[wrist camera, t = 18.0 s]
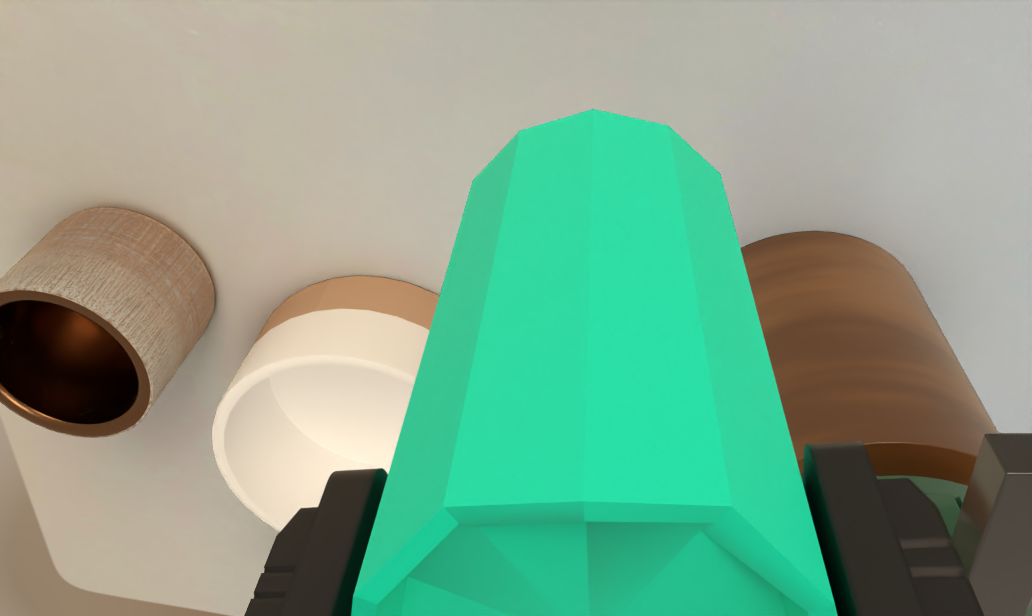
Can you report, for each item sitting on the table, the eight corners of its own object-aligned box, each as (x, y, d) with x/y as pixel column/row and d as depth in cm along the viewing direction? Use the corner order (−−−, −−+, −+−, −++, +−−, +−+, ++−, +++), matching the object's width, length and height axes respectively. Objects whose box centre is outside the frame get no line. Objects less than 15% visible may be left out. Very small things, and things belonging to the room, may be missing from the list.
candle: (781, 278, 19) (981, 890, 9) (554, 383, 21) (511, 963, 11) (649, 51, 16) (724, 560, 6) (406, 199, 18) (180, 743, 8)
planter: (209, 362, 58) (147, 461, 50) (52, 314, 57) (-37, 407, 49) (228, 234, 52) (161, 324, 44) (52, 178, 51) (-49, 260, 43)
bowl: (538, 321, 54) (528, 407, 47) (467, 494, 63) (450, 587, 57) (275, 239, 52) (225, 317, 45) (243, 430, 62) (198, 518, 55)
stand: (666, 244, 50) (690, 453, 35) (936, 217, 47) (1079, 431, 33) (681, 431, 58) (705, 662, 44) (911, 417, 56) (1017, 657, 41)
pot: (997, 676, 40) (1082, 885, 33) (709, 666, 42) (730, 863, 35) (1157, 297, 28) (1351, 497, 21) (741, 302, 30) (785, 490, 22)
